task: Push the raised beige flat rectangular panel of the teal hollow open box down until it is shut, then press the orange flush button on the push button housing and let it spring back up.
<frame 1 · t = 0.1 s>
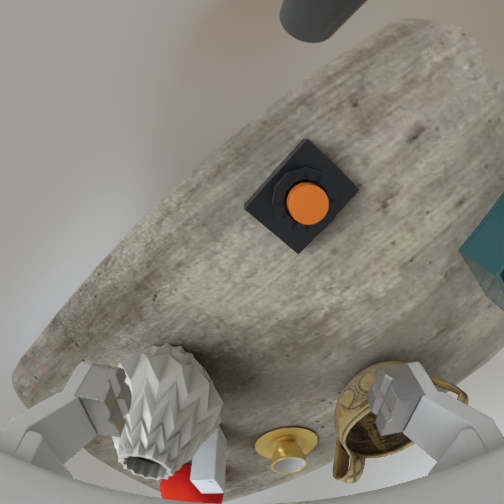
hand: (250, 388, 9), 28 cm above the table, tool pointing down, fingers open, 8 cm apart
flush button: (307, 203, 31), point 4 cm above the table, slide at 0.1 cm
tomato: (194, 468, 56), on the table
ceramic bowl: (374, 381, 47), on the table
push button housing: (300, 194, 35), on the table
teal hollow open box: (500, 241, 38), on the table
cup: (286, 442, 52), on the table
cosmetic box: (212, 432, 50), on the table
vase: (171, 363, 44), on the table
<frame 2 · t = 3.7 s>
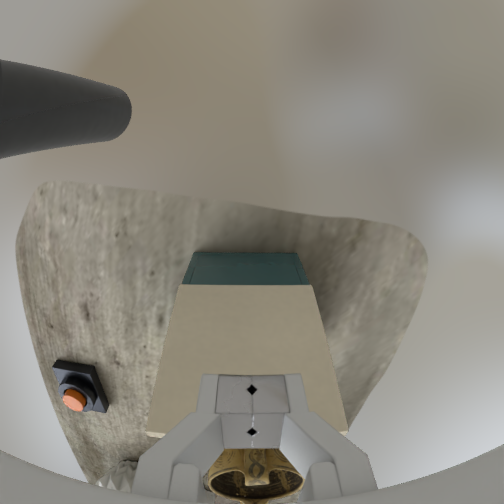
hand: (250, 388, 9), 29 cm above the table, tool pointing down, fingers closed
flush button: (74, 400, 43), point 4 cm above the table, slide at 0.1 cm
ceramic bowl: (255, 439, 52), on the table
push button housing: (83, 383, 47), on the table
beige flat rectangular panel: (246, 349, 23), point 17 cm above the table, hinge at 80.0°
teal hollow open box: (245, 304, 41), on the table
cosmetic box: (201, 491, 62), on the table
vase: (136, 467, 58), on the table
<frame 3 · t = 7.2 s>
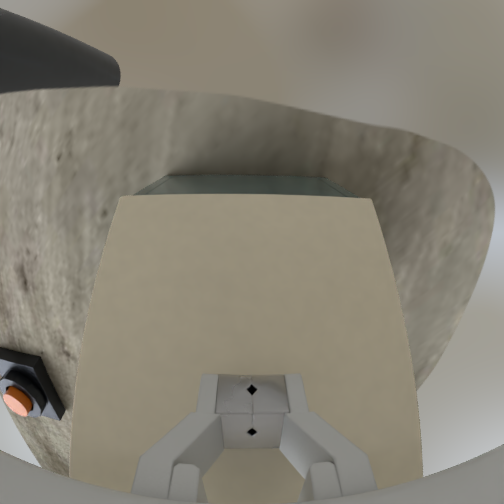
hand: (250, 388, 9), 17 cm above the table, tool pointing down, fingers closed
flush button: (17, 401, 28), point 4 cm above the table, slide at 0.1 cm
push button housing: (31, 380, 32), on the table
beige flat rectangular panel: (246, 359, 11), point 16 cm above the table, hinge at 55.4°, touching gripper
teal hollow open box: (244, 262, 26), on the table
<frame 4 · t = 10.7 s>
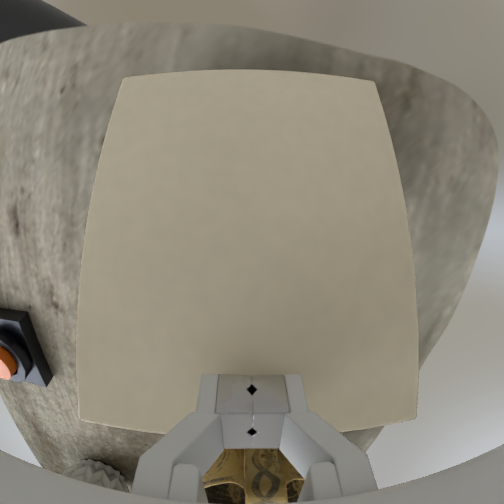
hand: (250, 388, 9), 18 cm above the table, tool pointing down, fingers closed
flush button: (1, 362, 26), point 4 cm above the table, slide at 0.1 cm
ceramic bowl: (260, 433, 36), on the table
push button housing: (18, 342, 30), on the table
beige flat rectangular panel: (248, 221, 12), point 14 cm above the table, hinge at 35.9°, touching gripper
vase: (102, 469, 42), on the table
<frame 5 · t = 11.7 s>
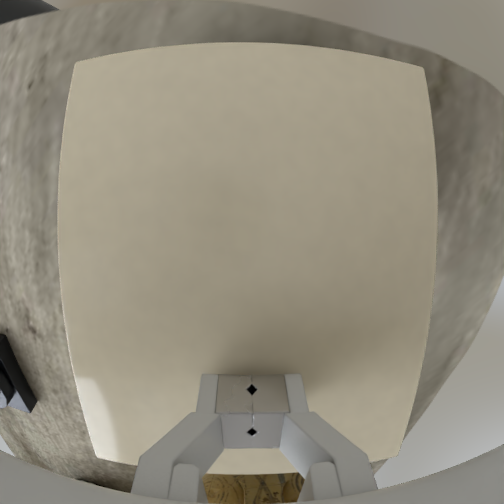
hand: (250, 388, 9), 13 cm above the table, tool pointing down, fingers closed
ceramic bowl: (261, 463, 32), on the table
beige flat rectangular panel: (248, 280, 10), point 11 cm above the table, hinge at 16.1°, touching gripper
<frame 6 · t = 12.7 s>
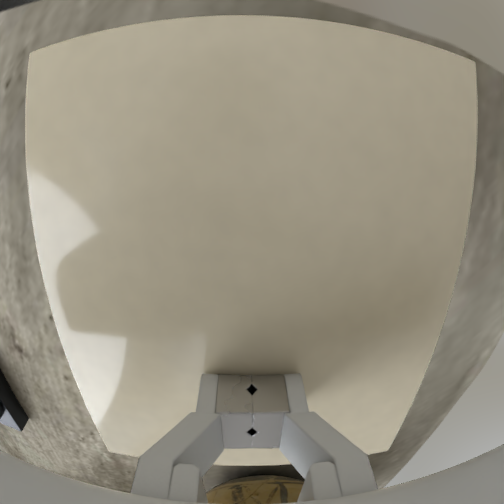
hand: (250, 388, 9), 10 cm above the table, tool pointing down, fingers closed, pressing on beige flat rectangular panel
ceramic bowl: (263, 484, 29), on the table
beige flat rectangular panel: (251, 309, 9), point 9 cm above the table, hinge at 1.3°, touching gripper
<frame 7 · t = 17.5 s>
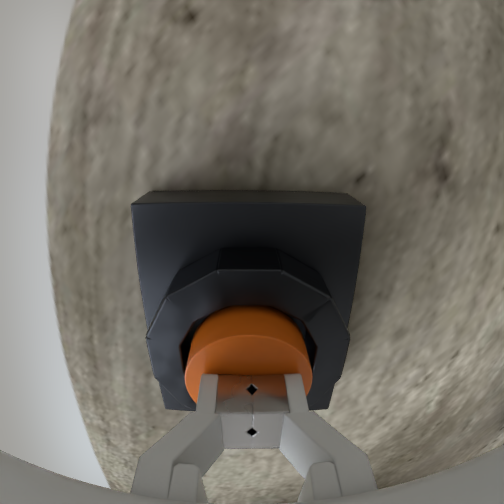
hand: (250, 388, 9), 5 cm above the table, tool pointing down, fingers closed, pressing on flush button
flush button: (248, 367, 10), point 4 cm above the table, slide at -0.1 cm, touching gripper
push button housing: (247, 303, 14), on the table
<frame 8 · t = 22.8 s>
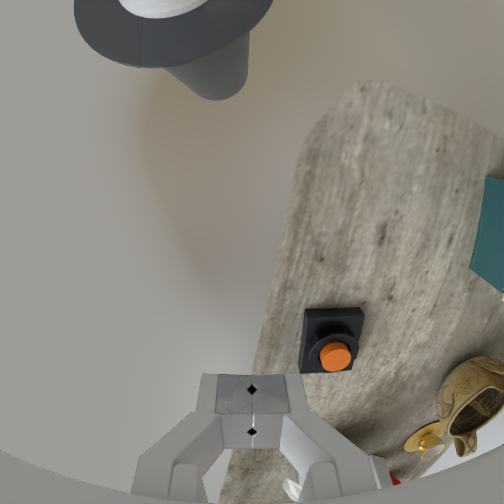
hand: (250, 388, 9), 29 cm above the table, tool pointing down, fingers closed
flush button: (335, 356, 40), point 4 cm above the table, slide at 0.1 cm
ceramic bowl: (459, 373, 49), on the table
push button housing: (328, 337, 44), on the table
teal hollow open box: (503, 225, 38), on the table
cup: (425, 435, 57), on the table
cosmetic box: (371, 459, 59), on the table
vase: (317, 447, 55), on the table
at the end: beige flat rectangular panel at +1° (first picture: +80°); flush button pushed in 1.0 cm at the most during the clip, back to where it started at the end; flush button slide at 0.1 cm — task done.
